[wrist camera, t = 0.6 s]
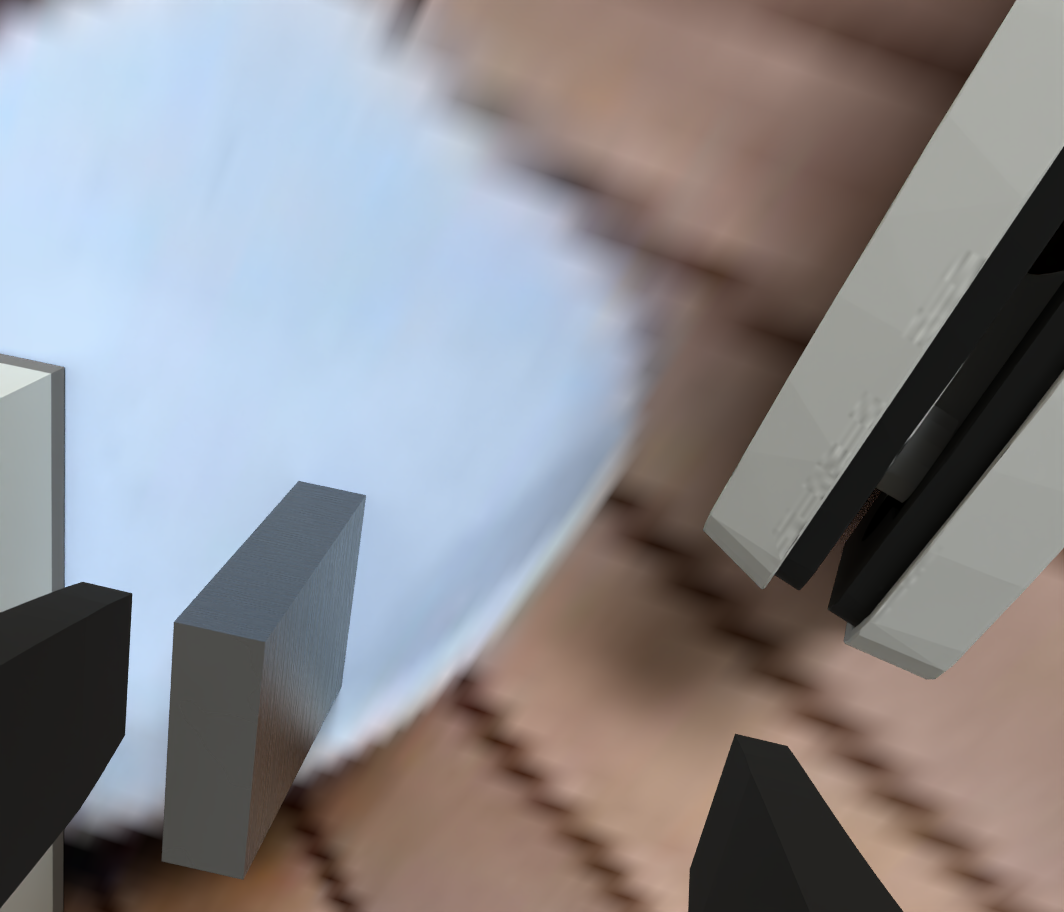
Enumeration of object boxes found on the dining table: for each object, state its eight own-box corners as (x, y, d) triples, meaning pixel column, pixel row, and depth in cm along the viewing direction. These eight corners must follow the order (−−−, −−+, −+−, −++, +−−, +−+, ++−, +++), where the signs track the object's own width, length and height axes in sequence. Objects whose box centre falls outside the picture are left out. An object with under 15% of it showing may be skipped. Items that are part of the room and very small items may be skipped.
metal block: (341, 686, 23) (243, 880, 17) (279, 673, 23) (161, 860, 17) (366, 495, 21) (264, 642, 15) (298, 480, 21) (173, 621, 15)
